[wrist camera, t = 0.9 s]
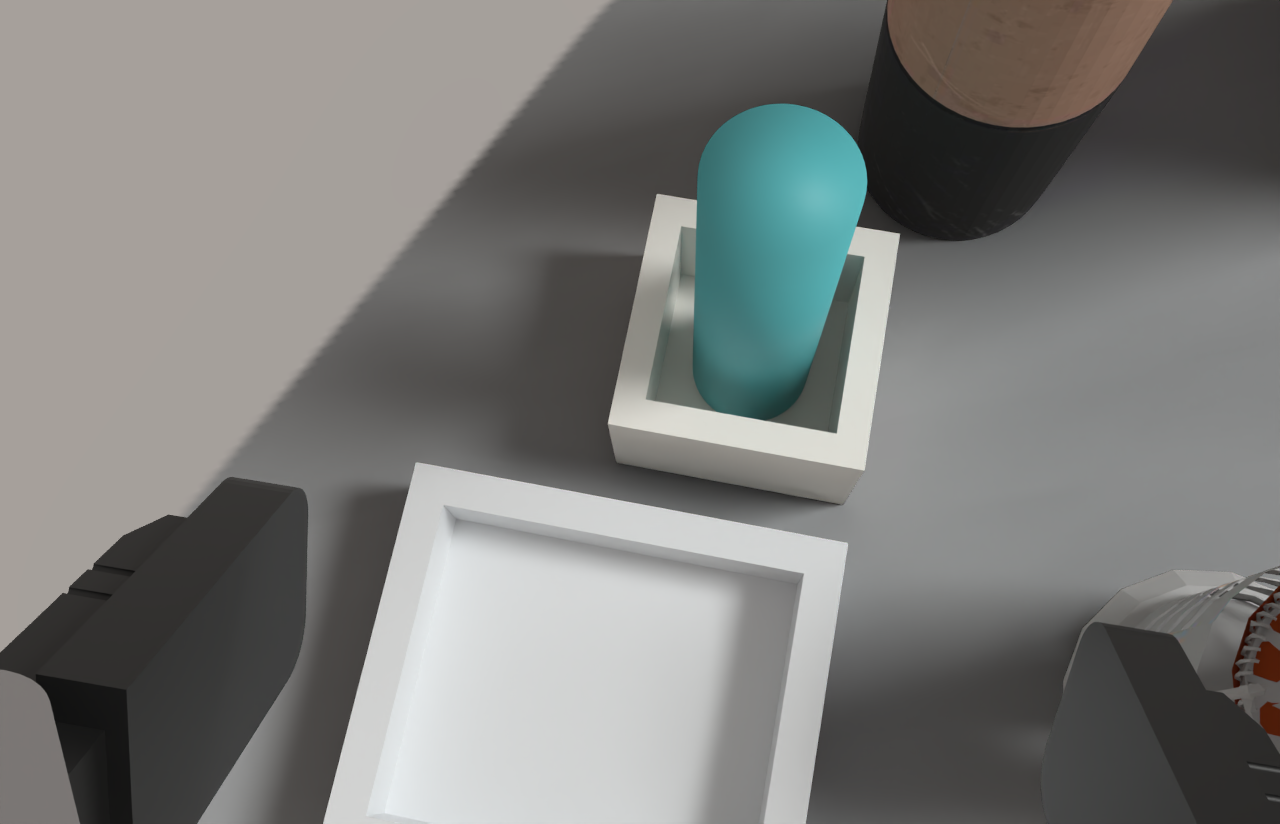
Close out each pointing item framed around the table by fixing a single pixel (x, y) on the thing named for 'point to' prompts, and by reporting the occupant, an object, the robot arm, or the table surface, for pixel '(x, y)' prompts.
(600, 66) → the table surface
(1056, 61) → the travel mug
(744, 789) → the tray
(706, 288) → the dowel
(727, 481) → the square box
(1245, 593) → the french press
